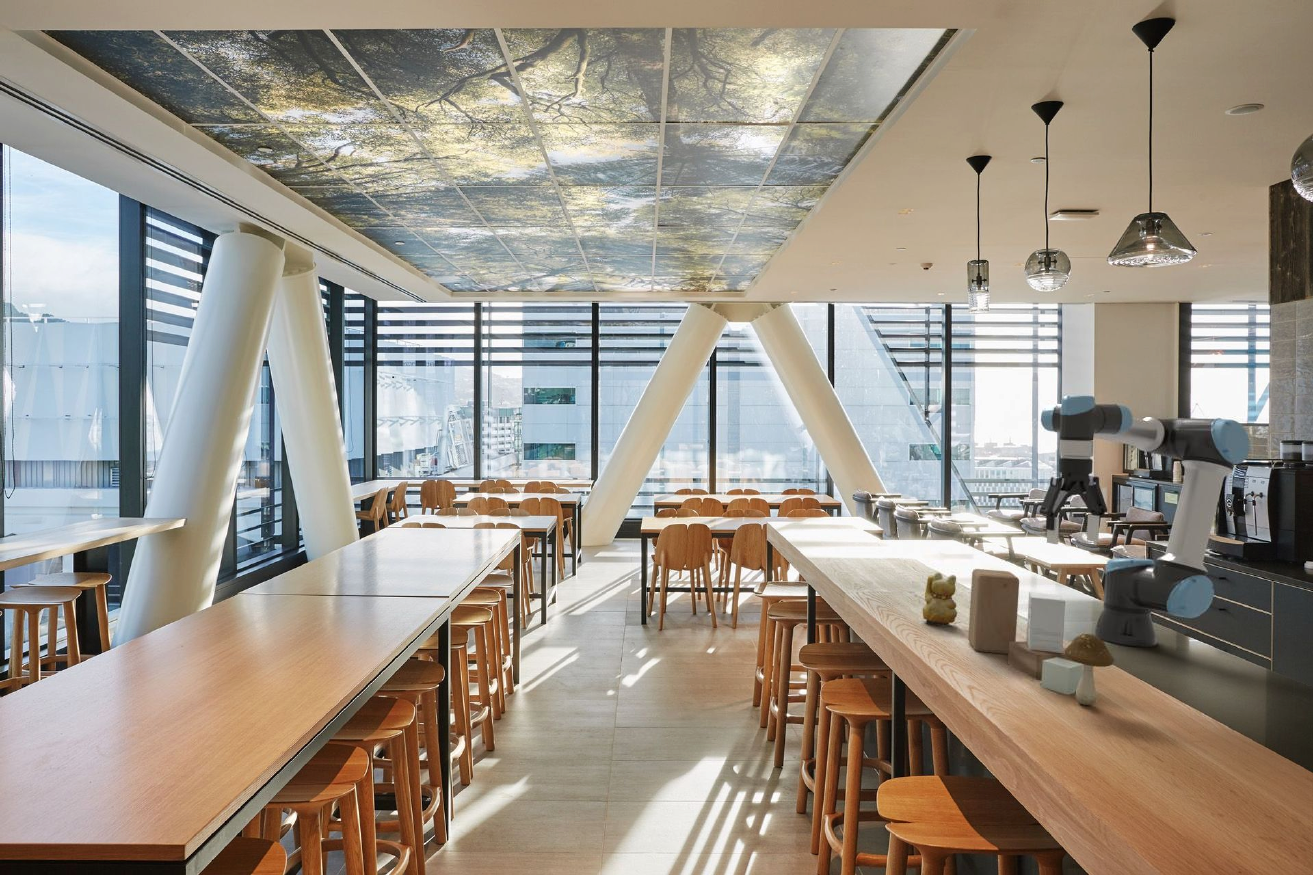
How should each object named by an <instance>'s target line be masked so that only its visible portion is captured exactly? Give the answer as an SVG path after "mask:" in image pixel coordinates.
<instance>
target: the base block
mask: <svg viewBox="0 0 1313 875" xmlns="http://www.w3.org/2000/svg"><path fill="white" fill-rule="evenodd" d="M1066 648H1067V647H1063V652H1062V653H1055V652H1046V651H1038V650H1030V649H1029V647H1028V644H1027V642H1026V641H1016V642H1012V641H1010V644H1009V654H1008V660H1007V661H1008V663H1007V664H1008V665H1009V666H1011V667H1012V668H1014V669H1016V670H1017V671H1019V672H1022V673H1024V674H1025V675H1027V676H1029V677H1031V678H1033V679H1035V680H1042V666H1043V660H1047V659H1051V658H1055V657H1058V658H1062V659H1065V660H1069V661H1073V660H1071V659H1069V658H1067V657H1066V655H1065V652H1064V651H1065V649H1066ZM1073 662H1075V661H1073ZM1076 663H1077V662H1076Z"/></svg>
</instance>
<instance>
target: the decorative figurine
mask: <svg viewBox="0 0 1313 875" xmlns="http://www.w3.org/2000/svg"><path fill="white" fill-rule="evenodd" d="M926 580H927V582H926V587H925V591H924V601H925V604H924V605H923V607H922V618H923V620H926V622H925V624H926V625H928V624H929V625H933V626H936V627H946V626H948V625H950V624H952V623H955V621H956V618H957V615H958V611H957V609H956V608H957V603H956V602H955V600H954V599H953V597H952V596H954V595H955V593H956V591H957V590H956V589H957V588H956V582H957V576H956V575H954V574H951V575H949V576H948V577H947V578H943V575H942V573H941V572H940V571H936V572H934V574H933V575H929V576H928V577H927V579H926Z"/></svg>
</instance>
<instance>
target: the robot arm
mask: <svg viewBox="0 0 1313 875" xmlns="http://www.w3.org/2000/svg"><path fill="white" fill-rule="evenodd" d="M1060 402H1061V403H1055V404H1054V403H1053V404H1049V405H1046V406H1045V407H1044V408H1043V409H1042V412H1041V414H1040V422H1041V425H1042V427H1043V429H1044V430H1046V431H1049V432H1053V433H1059V449H1058V450H1059V451H1058V452H1059V456H1061V457H1060V458H1059V459H1058V472H1059V473H1060V475H1061V476H1060V477H1058V476H1051V477H1050V482H1049V486H1048V489H1047V492H1046V494H1045V497H1044V499H1043V501H1042V504H1041V507H1040V509H1039V514H1040V515H1042V516H1043V517H1045V518H1046V519H1045V520H1046V521H1045V529H1046V532H1047V533H1046V543H1047V544H1052V545H1059V530H1060V529H1059V526H1060V521H1059V520H1060V517H1057V516H1058V514H1059V512H1061V510H1062V508H1063V506H1064V505H1065V503H1066V502H1067V500H1068V499H1069V498H1071V497H1072V496H1078V495H1079V496H1080V498H1081V499H1082V502H1083V503H1084V504H1085V506H1086V508H1087V509H1088V511H1089V513H1090V514H1088V515H1087V526H1086V527H1087V530H1086V540H1087V541H1090V542H1096V543H1097V542H1099V535H1100V534H1099V533H1100V527H1101V516H1102V517H1104V516H1105V514H1106V513H1108V507H1107V504H1106V501H1105V498H1104V495H1103V492H1102V489H1101V486H1100V477H1099V476H1093V475H1090V474H1092V473H1093V464H1094V461H1093V459H1092V457H1093V456H1094V442H1095V441H1094V439H1100V440H1104V441H1109V442H1115V443H1120V444H1126V445H1129V446H1130V445H1131V446H1135V448H1137V449H1138V450H1140V451H1143V452H1148V453H1151V454H1156V455H1160V456H1162V457H1167V458H1171V459H1175V460H1181V464H1182V466H1183V467H1184V469H1185V474H1184V477H1183V482H1182V486H1181V491H1180V494H1179V498H1178V502H1177V506H1176V509H1175V510H1176V511H1175V514H1174V518H1173V521H1172V522H1173V523H1172V526H1171V530H1170V534H1169V538H1168V541H1167V546H1166V550H1165V553H1164V555H1162V556H1159V557H1158V558H1157V559H1156V561H1155V560H1153V559H1147V558H1110V559H1109V560H1107V562H1106V566H1105V572H1104V590H1103V609H1102V611H1101V614H1100V616H1099V618H1098V620H1097V622H1096V625H1095V627H1094V635H1095V636H1097V637H1098V638H1100V639H1101V640H1102V641H1106V642H1109V643H1110V642H1111V643H1114V644H1119V645H1125V646H1130V647H1131V646H1132V647H1140V648H1141V647H1142V648H1144V647H1148V648H1149V647H1156V645H1157V641H1158V640H1157V637H1158V636H1157V634H1156V630H1155V627H1154V624H1153V619H1152V616H1151V614H1152V610H1153V611H1157V612H1161V613H1164V614H1168V615H1172V616H1175V617H1182V618H1187V619H1193V618H1198V617H1199V616H1201V614H1204V613H1205V612H1206V611H1207V610H1208V609H1209V607H1210V606H1211V604H1212V602H1213V599H1214V594H1215V589H1214V584H1213V582H1212V580H1211V579H1209V578H1208V577H1207V576H1208V572H1209V571H1208V569H1207V568H1206V567H1205V565H1204V564H1203V563H1204V559H1205V555H1206V550H1207V547H1208V544H1209V543H1208V542H1209V539H1210V535H1211V531H1212V526H1213V523H1214V519H1215V514H1216V510H1217V507H1218V502H1219V499H1220V495H1221V490H1222V487H1223V482H1224V480H1225V478H1226V477H1227V476H1228V475H1229V476H1230V474H1232V473H1233V470H1234V466H1235V465H1238V464H1242V463H1243V462H1245V460H1246V459H1247V458H1248V457H1249V453H1250V449H1251V448H1250V446H1251V441H1250V439H1249V438H1250V437H1249V434H1248V432H1247V430H1246V429H1245V427H1244V426H1243V425H1242V424H1241V423H1240V422H1239V421H1237V420H1234V419H1226V418H1220V417H1219V418H1218V417H1216V418H1187V417H1186V418H1185V417H1178V418H1155V417H1145V418H1143V419H1142V418H1137V417H1133V413H1132V411H1131V410H1130V408H1129V407H1127V406H1126V405H1122V404H1117V403H1110V404H1109V403H1103V404H1102V403H1097V404H1096V400H1095V397H1094V396H1093V395H1065V396H1063V397H1062V398H1061V401H1060ZM1155 562H1156V563H1155Z"/></svg>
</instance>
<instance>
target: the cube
mask: <svg viewBox="0 0 1313 875" xmlns="http://www.w3.org/2000/svg"><path fill="white" fill-rule="evenodd" d="M1083 667H1084V666H1083V664H1081V663H1076V662H1073V661H1069V660H1065V659H1062V658H1058V657H1055V658H1051V659H1047V660H1043V666H1042V679H1041V683H1040V684H1041V685H1040V687H1041V688H1043V689H1047V690H1049V691H1050V690H1051V691H1054V692H1057V693H1060V694H1063V693H1065V694H1064V695H1066V694H1067V695H1066V696H1069V695H1072V694H1071V693H1073V694H1076V693H1075V692H1076V690H1077V688H1078V685H1079V682H1080V680H1081V677H1082V674H1083ZM1068 694H1069V695H1068Z"/></svg>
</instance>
